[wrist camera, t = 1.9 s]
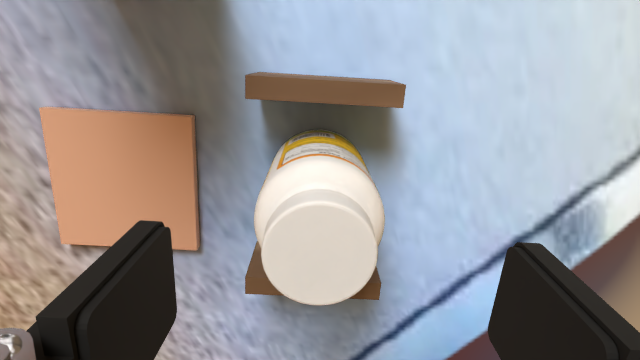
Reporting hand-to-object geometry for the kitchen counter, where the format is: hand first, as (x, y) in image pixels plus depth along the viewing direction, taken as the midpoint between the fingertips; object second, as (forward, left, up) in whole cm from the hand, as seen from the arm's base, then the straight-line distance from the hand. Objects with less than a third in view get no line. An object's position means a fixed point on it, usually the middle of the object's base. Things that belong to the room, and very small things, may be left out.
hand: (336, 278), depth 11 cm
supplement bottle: (-1, 0, -12) cm, 12 cm away
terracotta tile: (-2, +11, -12) cm, 17 cm away
